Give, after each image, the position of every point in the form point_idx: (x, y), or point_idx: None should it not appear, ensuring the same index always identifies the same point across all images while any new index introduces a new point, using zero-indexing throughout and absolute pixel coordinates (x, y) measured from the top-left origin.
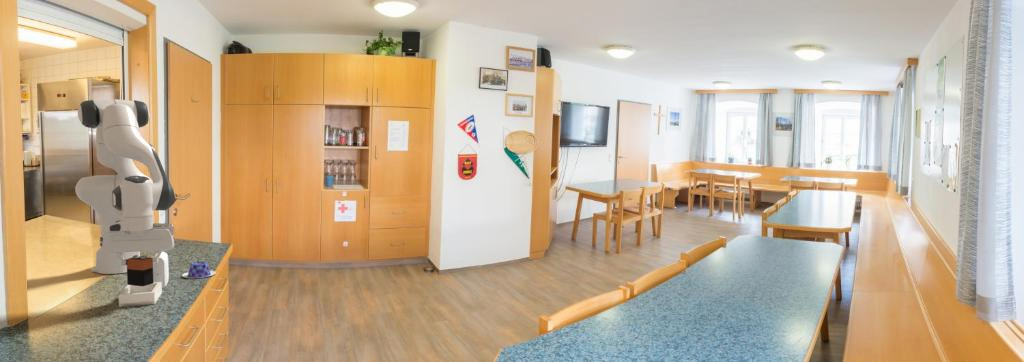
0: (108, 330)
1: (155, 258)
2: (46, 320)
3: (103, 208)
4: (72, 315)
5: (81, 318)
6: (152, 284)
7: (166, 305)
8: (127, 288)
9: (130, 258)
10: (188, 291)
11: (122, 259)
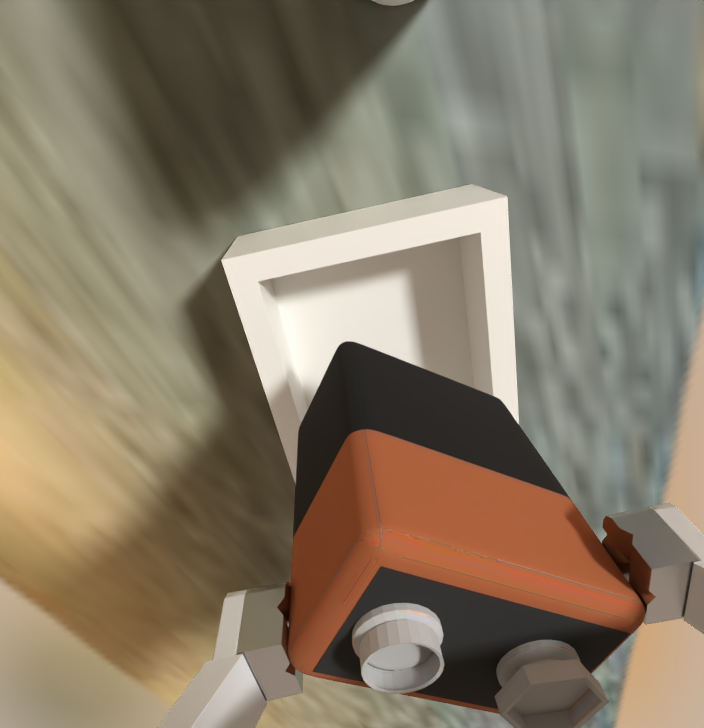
0: (411, 699)
1: (686, 614)
2: (74, 621)
3: None
4: (145, 573)
5: (221, 605)
6: (433, 240)
7: (562, 461)
8: (287, 386)
9: (343, 668)
10: (669, 160)
11: (258, 714)
